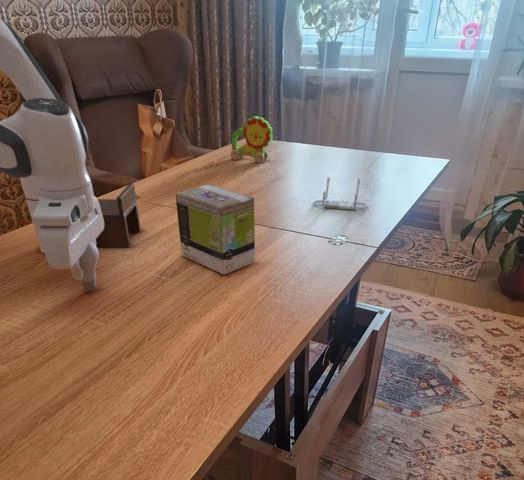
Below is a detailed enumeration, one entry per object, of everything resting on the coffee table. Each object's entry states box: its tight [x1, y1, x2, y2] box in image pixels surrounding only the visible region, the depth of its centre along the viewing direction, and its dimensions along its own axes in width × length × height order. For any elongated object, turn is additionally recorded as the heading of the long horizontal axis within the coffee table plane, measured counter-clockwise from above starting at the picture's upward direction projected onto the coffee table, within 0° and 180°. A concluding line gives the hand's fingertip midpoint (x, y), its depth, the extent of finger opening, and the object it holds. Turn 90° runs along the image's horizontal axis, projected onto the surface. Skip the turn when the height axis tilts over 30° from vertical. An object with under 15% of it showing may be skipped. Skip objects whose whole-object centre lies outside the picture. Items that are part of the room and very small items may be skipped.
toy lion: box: [230, 115, 274, 164], centre depth 176 cm, size 16×6×15 cm, turn 66°
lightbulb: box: [79, 242, 100, 292], centre depth 94 cm, size 6×6×11 cm
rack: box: [96, 182, 142, 249], centre depth 116 cm, size 12×11×12 cm
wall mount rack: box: [312, 176, 368, 211], centre depth 138 cm, size 16×14×6 cm
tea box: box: [175, 183, 256, 276], centre depth 105 cm, size 15×10×15 cm
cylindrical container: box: [19, 176, 45, 254], centre depth 108 cm, size 7×7×25 cm
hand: (85, 269), depth 95 cm, fingers closed on lightbulb, 6 cm apart
